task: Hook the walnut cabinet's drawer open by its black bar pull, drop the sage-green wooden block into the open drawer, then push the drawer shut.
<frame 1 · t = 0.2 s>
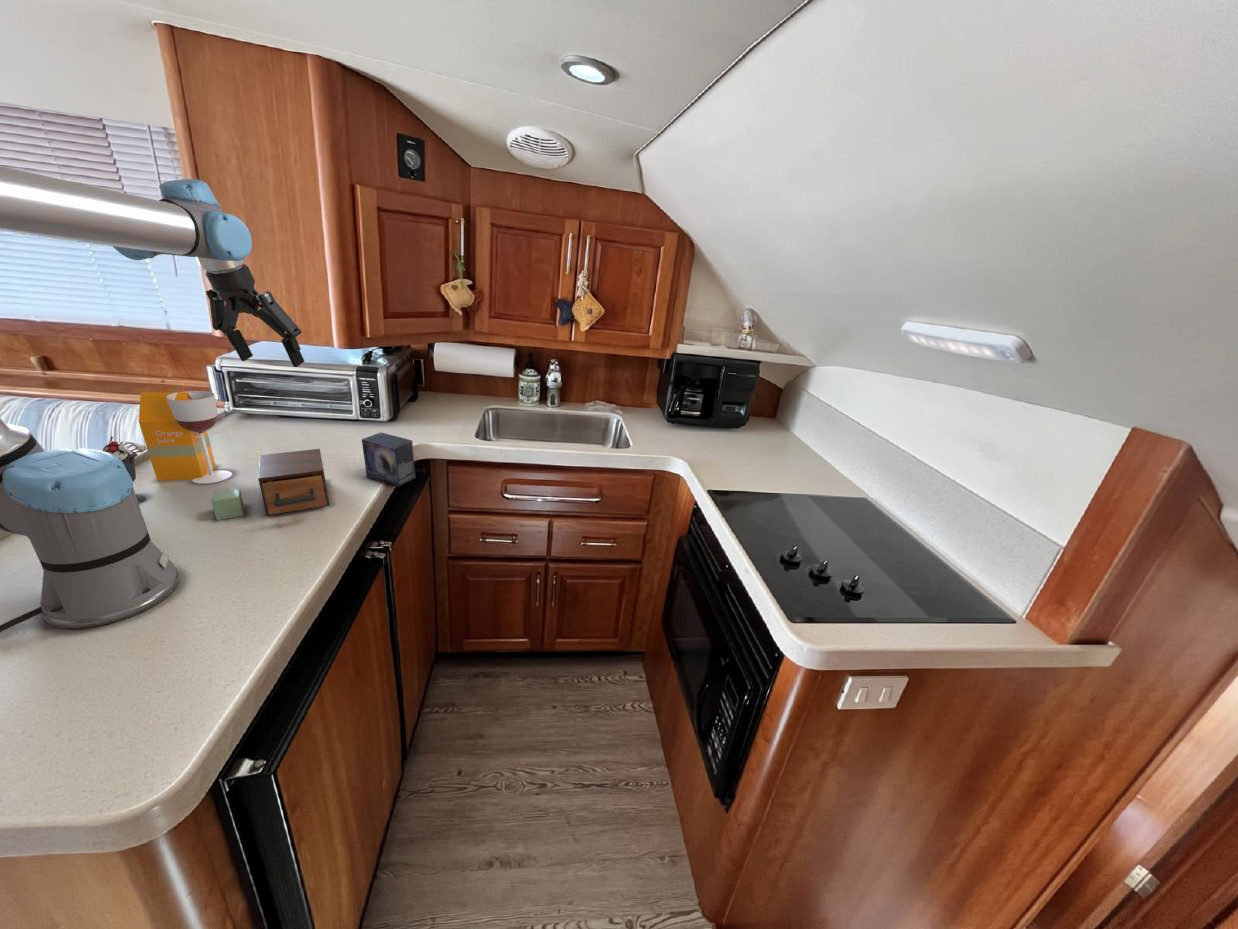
hand: (273, 361, 113), 28 cm above the table, tool tilted 20°, fingers open, 13 cm apart
sundae: (130, 501, 104), on the table
wineglass: (212, 477, 117), on the table, touching orange juice
drawer: (295, 488, 106), point 4 cm above the table, slide at 0.5 cm
orange juice: (188, 474, 118), on the table, touching wineglass
block: (231, 513, 103), on the table
small box: (391, 478, 124), on the table
cabinet: (298, 497, 111), on the table
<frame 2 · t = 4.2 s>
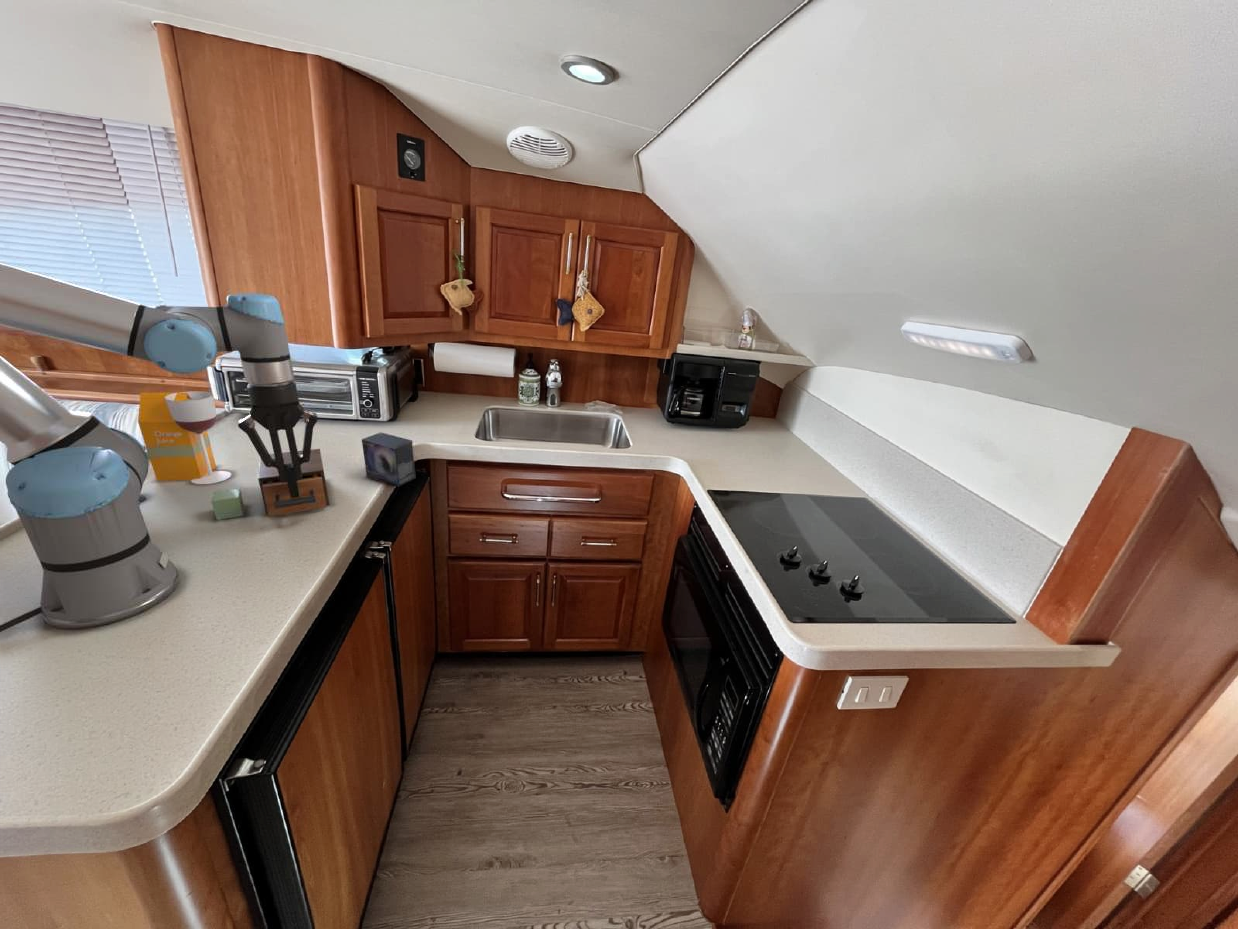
hand: (295, 494, 100), 6 cm above the table, tool pointing down, fingers closed
wineglass: (211, 478, 117), on the table, touching orange juice
drawer: (295, 489, 105), point 4 cm above the table, slide at 1.3 cm, touching gripper
everything else where it was.
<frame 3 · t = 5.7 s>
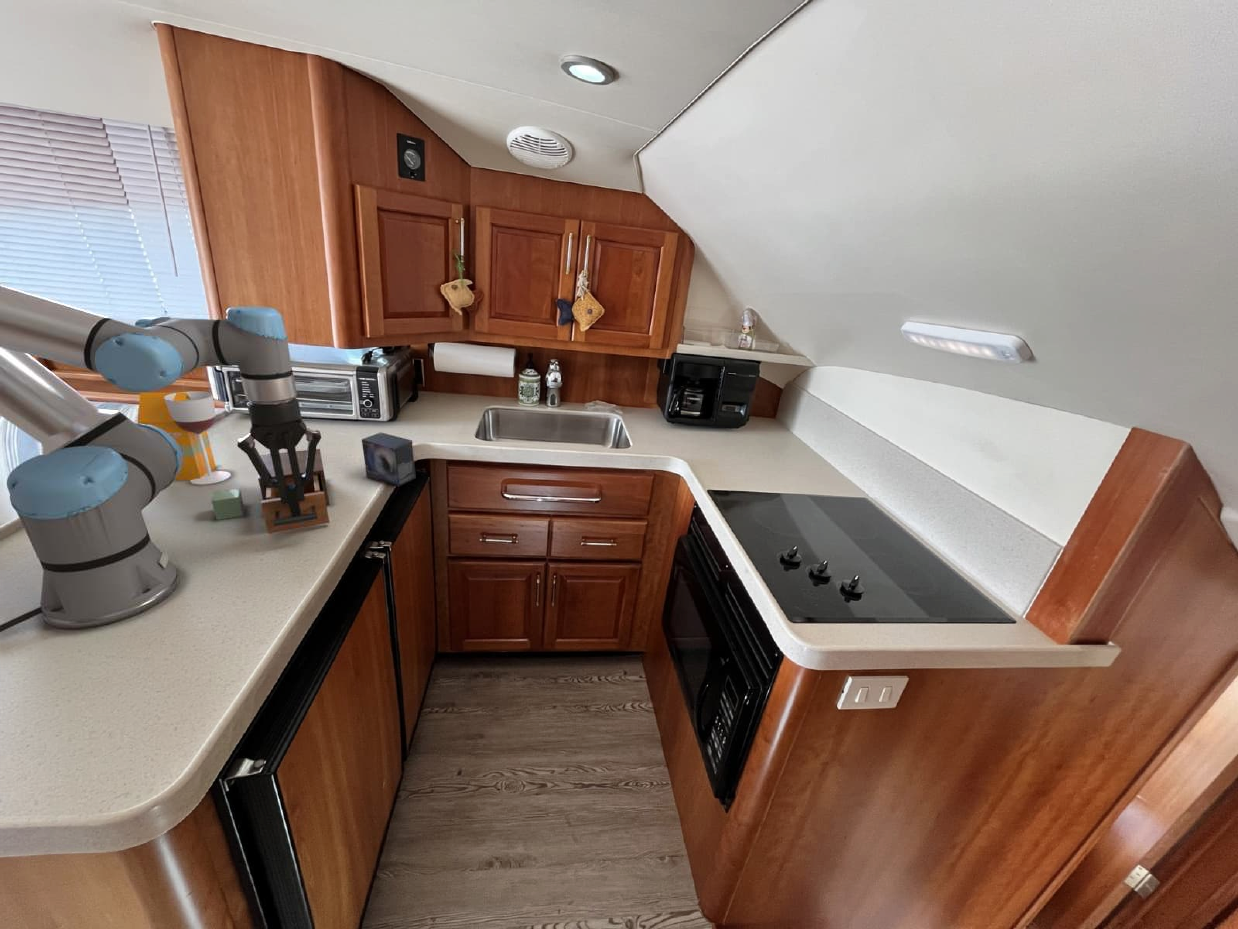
hand: (296, 516, 95), 5 cm above the table, tool pointing down, fingers closed
drawer: (296, 505, 100), point 4 cm above the table, slide at 8.9 cm
everything else where it was.
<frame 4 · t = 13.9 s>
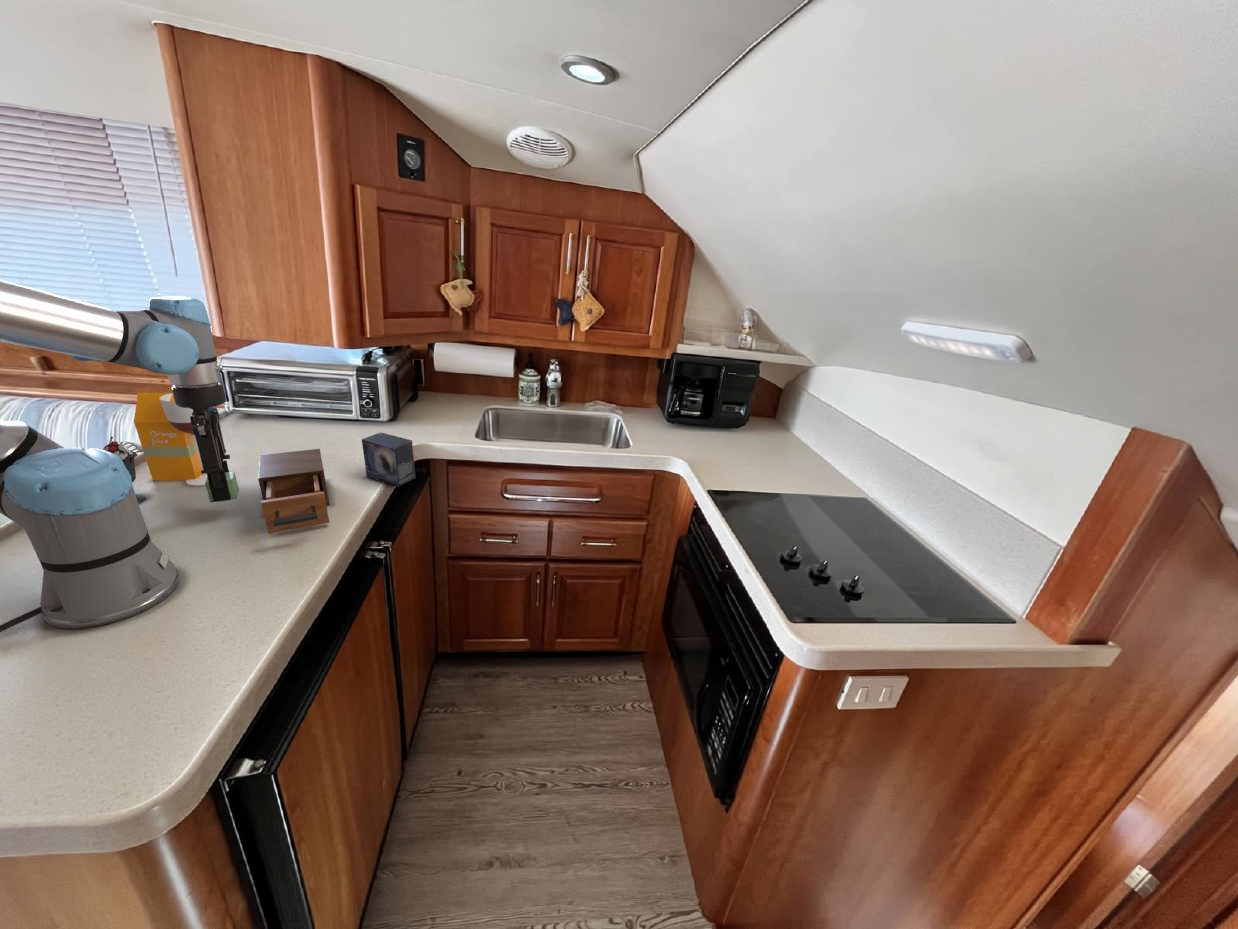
hand: (223, 495, 101), 4 cm above the table, tool pointing down, fingers closed on block, 4 cm apart
block: (225, 496, 101), point 4 cm above the table, touching gripper
when the fingers open (8 cm above the table, at t = 17.6 s): block drops 5 cm, resting on drawer.
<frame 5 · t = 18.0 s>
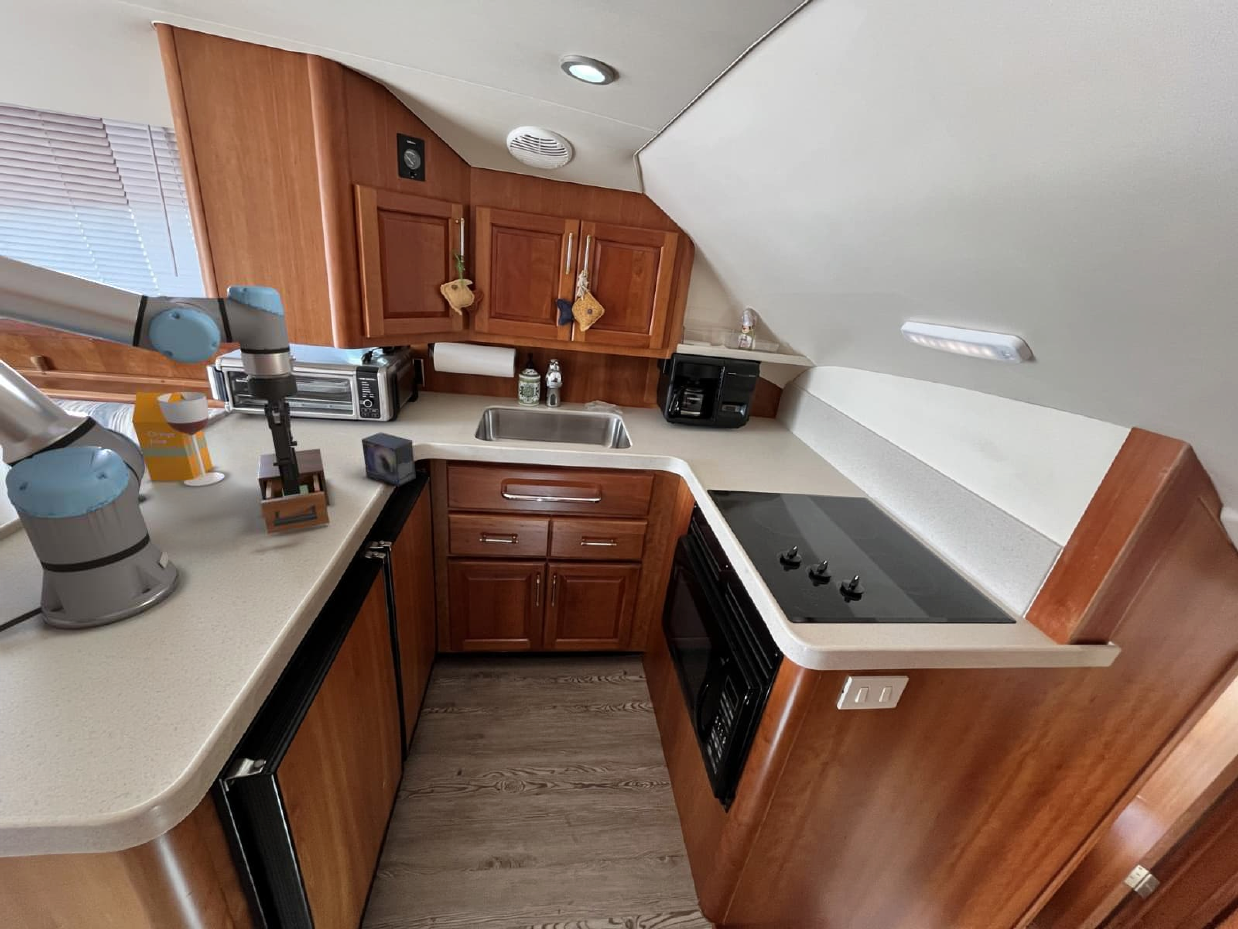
hand: (292, 485, 99), 8 cm above the table, tool pointing down, fingers open, 8 cm apart
drawer: (296, 505, 99), point 4 cm above the table, slide at 9.0 cm, touching block
block: (298, 509, 102), point 2 cm above the table, touching drawer
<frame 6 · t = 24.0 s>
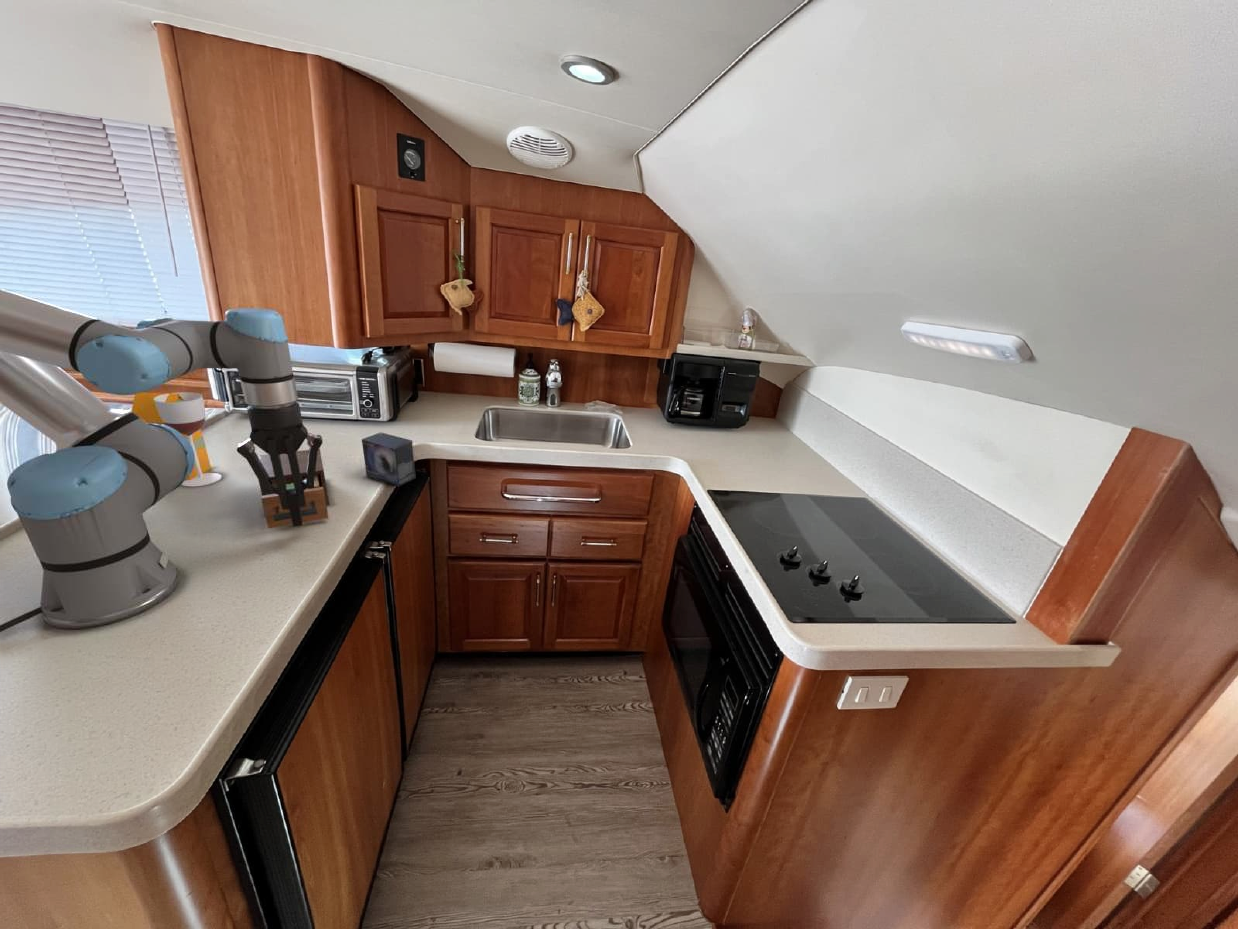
hand: (297, 522, 93), 5 cm above the table, tool pointing down, fingers closed
drawer: (295, 500, 101), point 4 cm above the table, slide at 6.7 cm, touching block, gripper
block: (298, 505, 104), point 2 cm above the table, touching drawer
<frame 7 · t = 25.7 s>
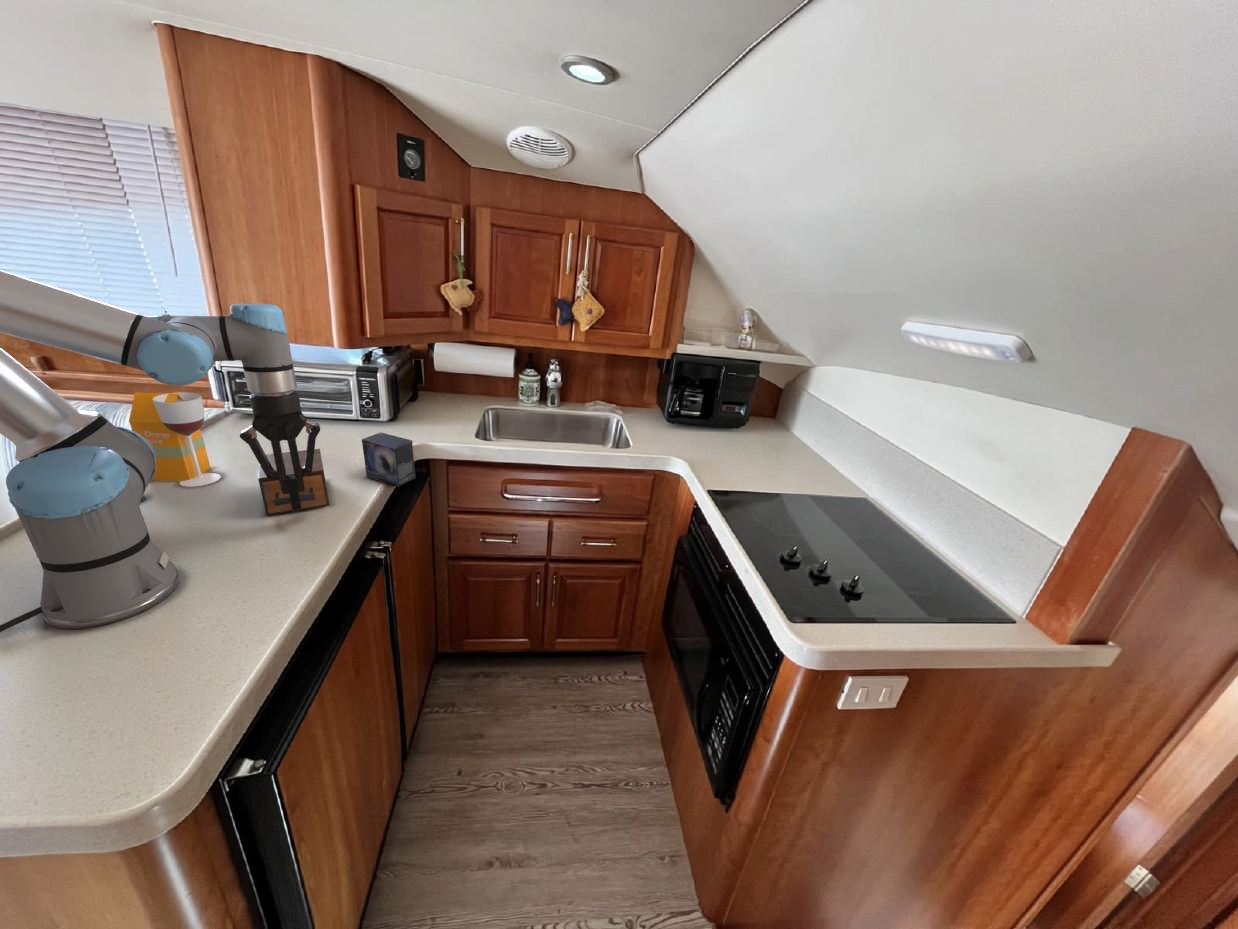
hand: (296, 506, 99), 5 cm above the table, tool pointing down, fingers closed
drawer: (295, 487, 106), point 4 cm above the table, slide at 0.0 cm, touching block, cabinet, gripper
block: (297, 492, 109), point 2 cm above the table, touching drawer
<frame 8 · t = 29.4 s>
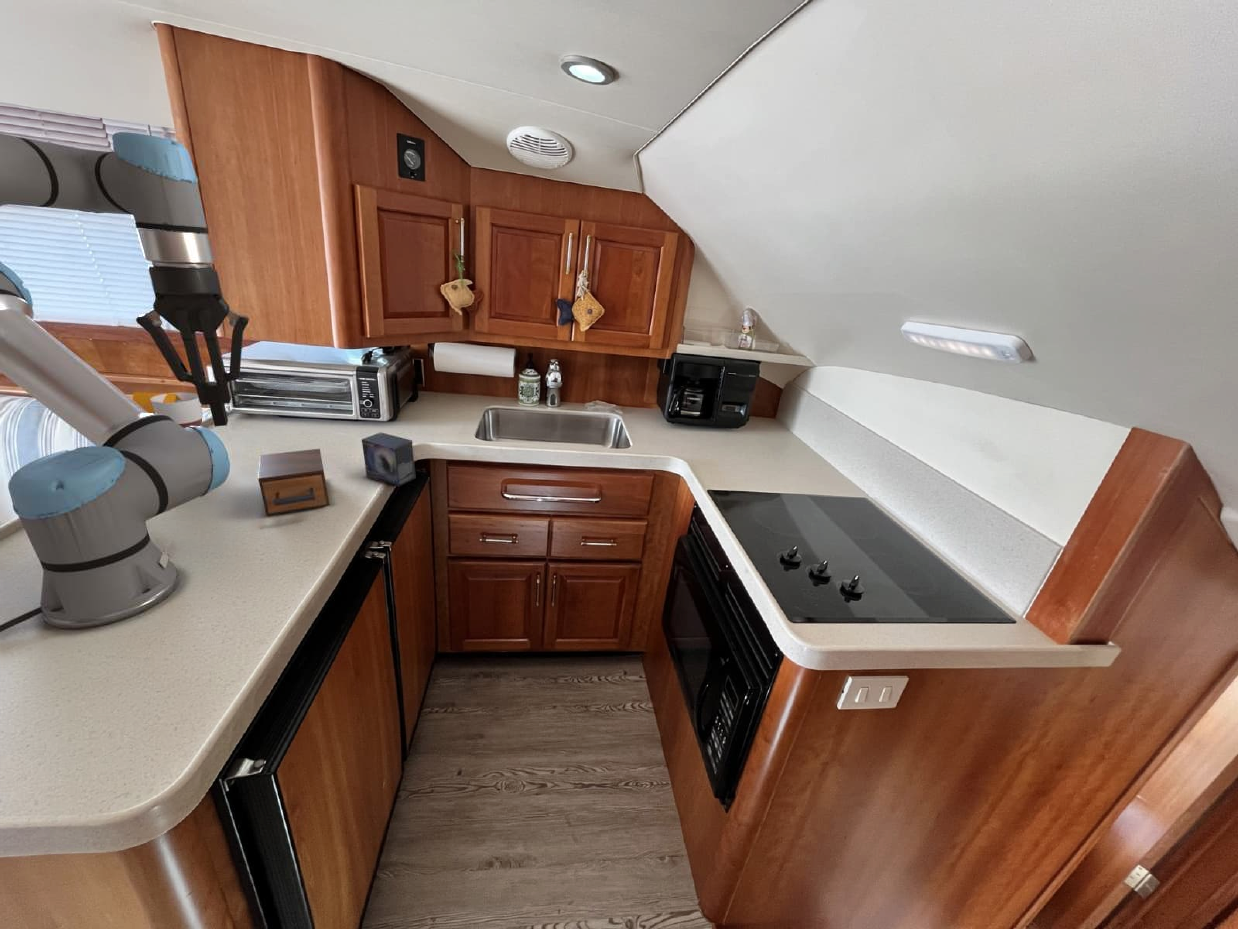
hand: (221, 423, 78), 26 cm above the table, tool pointing down, fingers closed
drawer: (295, 487, 106), point 4 cm above the table, slide at 0.0 cm, touching block, cabinet
at the end: drawer pulled out 9.0 cm at the most during the clip, back to where it started at the end; block inside the target area in the cabinet (1.7 cm from its centre), point 2.0 cm above the cabinet's base; drawer slide at 0.0 cm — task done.
